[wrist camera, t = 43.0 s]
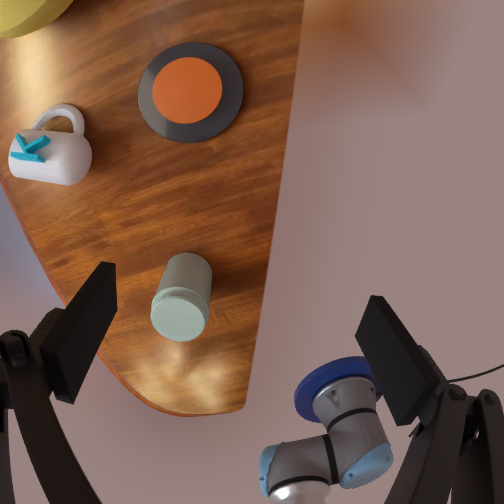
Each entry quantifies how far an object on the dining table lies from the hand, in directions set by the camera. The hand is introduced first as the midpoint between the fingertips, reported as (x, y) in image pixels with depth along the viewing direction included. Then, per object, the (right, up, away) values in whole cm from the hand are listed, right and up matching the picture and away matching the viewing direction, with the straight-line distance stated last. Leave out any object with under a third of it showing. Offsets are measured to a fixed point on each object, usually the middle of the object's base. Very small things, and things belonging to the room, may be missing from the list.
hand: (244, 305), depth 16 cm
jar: (-10, -1, +34) cm, 35 cm away
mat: (-8, +24, +22) cm, 33 cm away
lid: (-8, +23, +20) cm, 31 cm away
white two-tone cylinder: (-27, +19, +23) cm, 40 cm away
